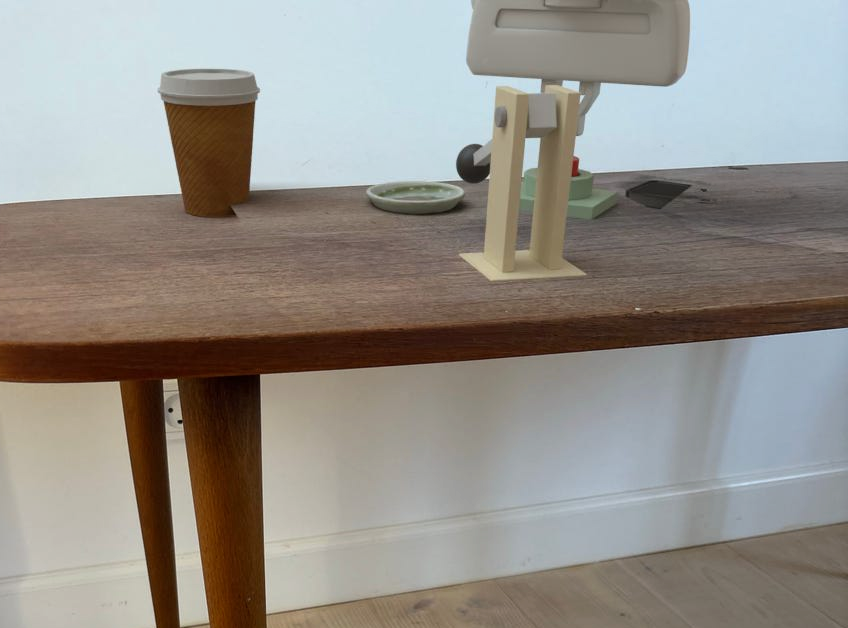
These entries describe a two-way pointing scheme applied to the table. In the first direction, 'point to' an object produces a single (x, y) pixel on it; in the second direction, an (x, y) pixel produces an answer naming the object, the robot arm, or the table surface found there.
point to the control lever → (477, 157)
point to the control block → (571, 195)
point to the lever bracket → (549, 192)
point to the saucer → (442, 192)
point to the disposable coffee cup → (211, 136)
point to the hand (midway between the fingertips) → (565, 134)
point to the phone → (656, 192)
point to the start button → (575, 166)
